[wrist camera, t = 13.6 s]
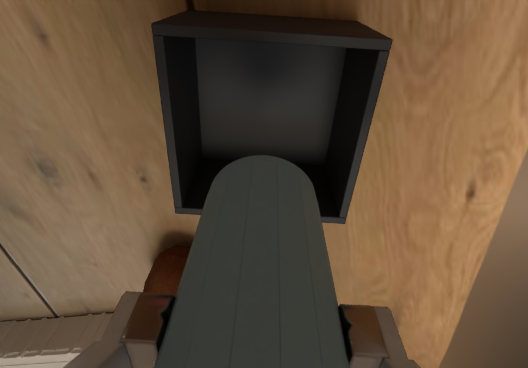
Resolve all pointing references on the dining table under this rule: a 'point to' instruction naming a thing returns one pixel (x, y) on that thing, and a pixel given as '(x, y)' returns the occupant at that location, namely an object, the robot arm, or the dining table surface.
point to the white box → (48, 340)
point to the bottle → (256, 277)
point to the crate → (267, 98)
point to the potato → (167, 271)
